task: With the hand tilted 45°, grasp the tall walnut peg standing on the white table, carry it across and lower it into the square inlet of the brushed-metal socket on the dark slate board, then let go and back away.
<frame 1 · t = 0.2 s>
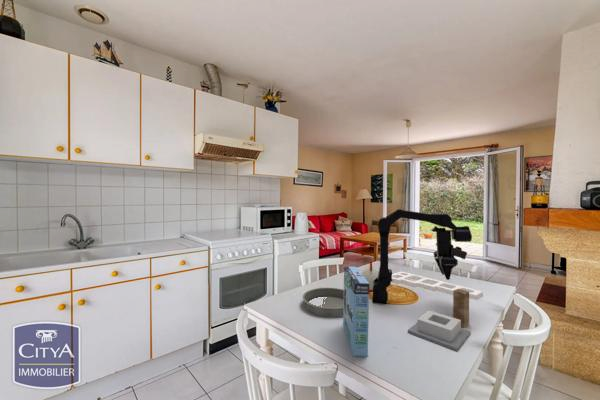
hand: (445, 277, 116), 14 cm above the table, tool pointing down, fingers open, 9 cm apart
socket board: (439, 333, 95), on the table
cake pan: (329, 306, 119), on the table
gum box: (354, 340, 90), on the table
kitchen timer: (370, 289, 142), on the table
holder: (429, 288, 145), on the table
walnut peg: (460, 324, 102), on the table
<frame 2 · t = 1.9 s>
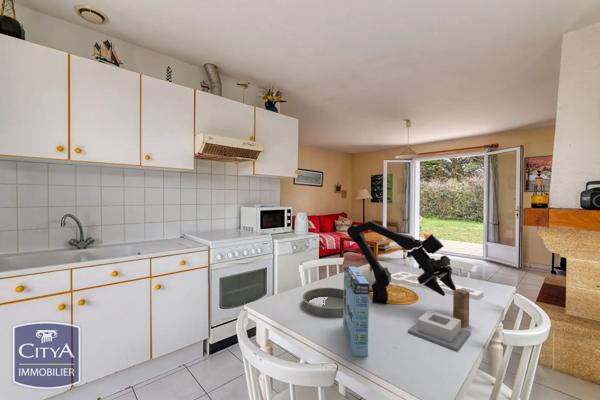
hand: (450, 293, 105), 11 cm above the table, tool tilted 45°, fingers open, 9 cm apart
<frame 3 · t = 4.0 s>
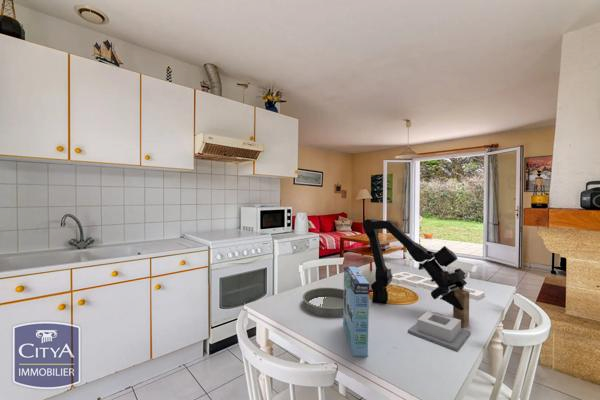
hand: (465, 308, 101), 7 cm above the table, tool tilted 45°, fingers closed on walnut peg, 4 cm apart
walnut peg: (460, 324, 102), on the table, touching gripper
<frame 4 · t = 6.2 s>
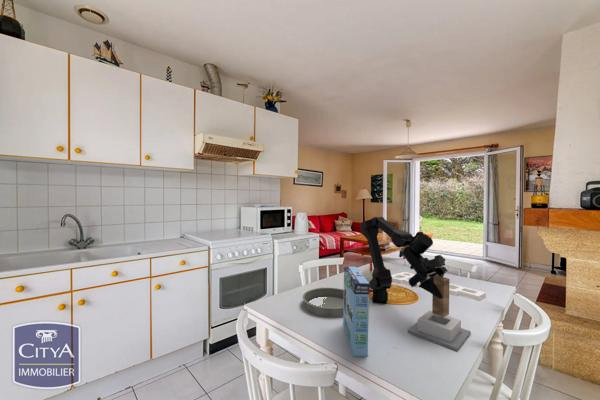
hand: (444, 296, 94), 14 cm above the table, tool tilted 45°, fingers closed on walnut peg, 4 cm apart
walnut peg: (440, 313, 95), point 7 cm above the table, touching gripper
when the fingers open (8 cm above the table, at t = 8.4 s): walnut peg stays where it is, resting on socket board.
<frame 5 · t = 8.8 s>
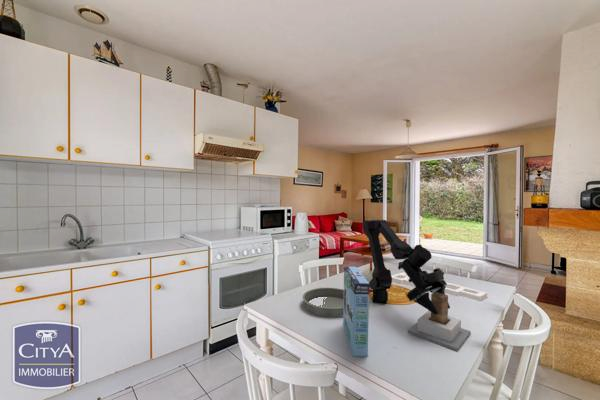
hand: (443, 311, 94), 9 cm above the table, tool tilted 45°, fingers open, 8 cm apart
walnut peg: (439, 330, 95), point 1 cm above the table, touching socket board
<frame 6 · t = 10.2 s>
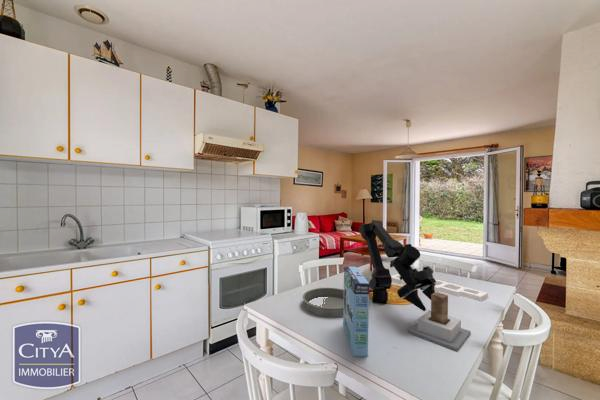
hand: (431, 307, 97), 8 cm above the table, tool tilted 45°, fingers open, 9 cm apart
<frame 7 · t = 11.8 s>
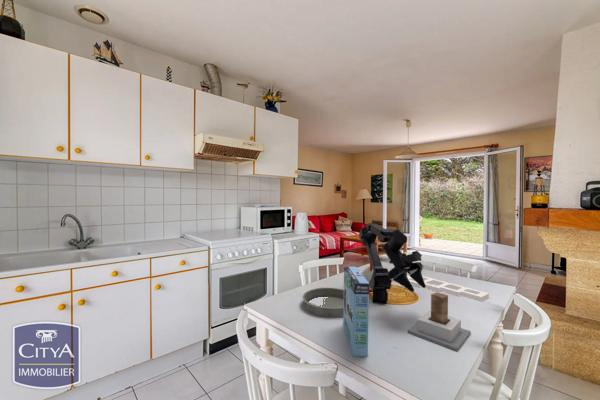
hand: (419, 289, 102), 13 cm above the table, tool tilted 45°, fingers open, 9 cm apart
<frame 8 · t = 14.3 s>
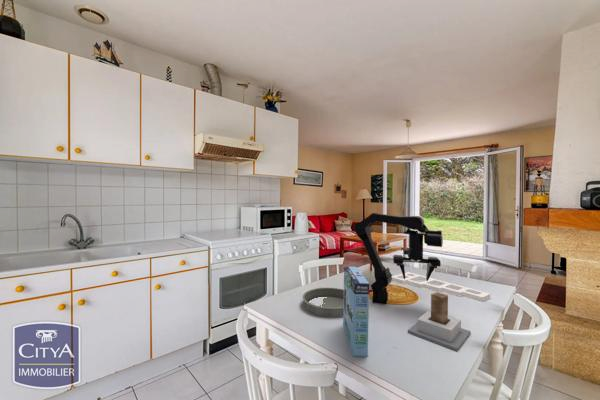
hand: (415, 279, 115), 13 cm above the table, tool pointing down, fingers open, 9 cm apart
at the end: walnut peg 0.0 cm off-centre on the socket board, point 1.0 cm above the socket board's base; walnut peg tilted 0°; the gripper is holding nothing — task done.
